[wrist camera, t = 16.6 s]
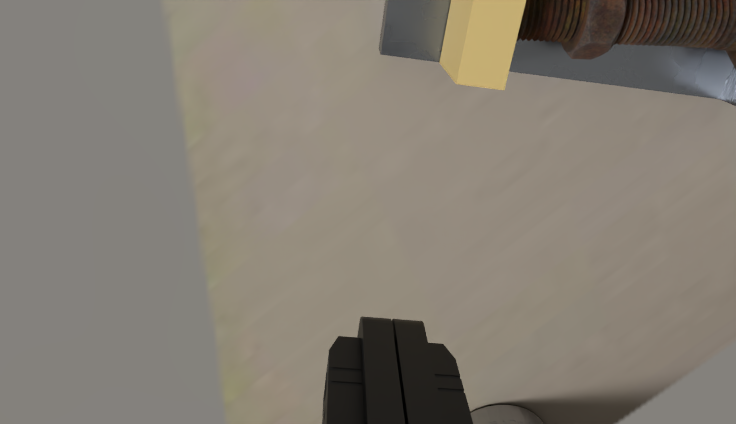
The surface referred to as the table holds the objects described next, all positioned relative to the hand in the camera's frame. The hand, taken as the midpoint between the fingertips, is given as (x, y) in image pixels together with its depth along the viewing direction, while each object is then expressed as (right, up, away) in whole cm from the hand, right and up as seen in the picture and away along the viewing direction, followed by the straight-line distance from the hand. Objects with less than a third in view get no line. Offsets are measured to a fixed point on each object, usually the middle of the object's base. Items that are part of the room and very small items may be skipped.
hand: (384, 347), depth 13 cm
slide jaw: (+6, +17, +17) cm, 24 cm away
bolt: (+15, +15, +18) cm, 28 cm away
